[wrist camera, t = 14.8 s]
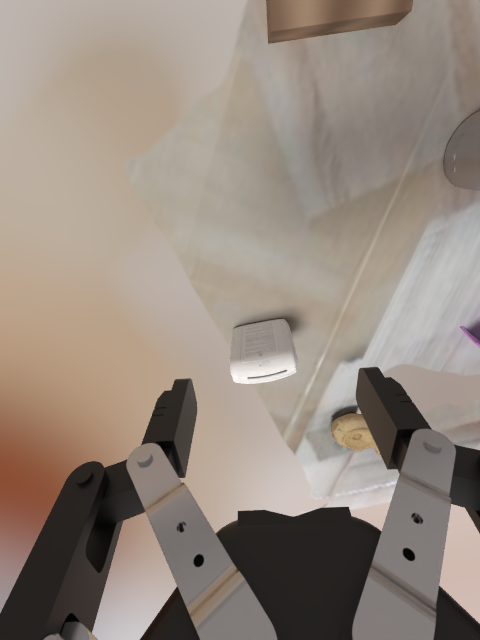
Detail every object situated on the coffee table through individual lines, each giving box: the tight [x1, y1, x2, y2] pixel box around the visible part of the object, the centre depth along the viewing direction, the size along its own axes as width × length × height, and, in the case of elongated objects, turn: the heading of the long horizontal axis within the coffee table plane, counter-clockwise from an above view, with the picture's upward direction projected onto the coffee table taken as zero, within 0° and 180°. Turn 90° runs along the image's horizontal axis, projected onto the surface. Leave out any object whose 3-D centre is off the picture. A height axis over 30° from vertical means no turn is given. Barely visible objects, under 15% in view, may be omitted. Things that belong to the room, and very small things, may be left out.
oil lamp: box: [331, 413, 381, 455], centre depth 60 cm, size 11×14×5 cm
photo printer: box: [229, 319, 297, 384], centre depth 46 cm, size 10×4×12 cm, turn 103°
